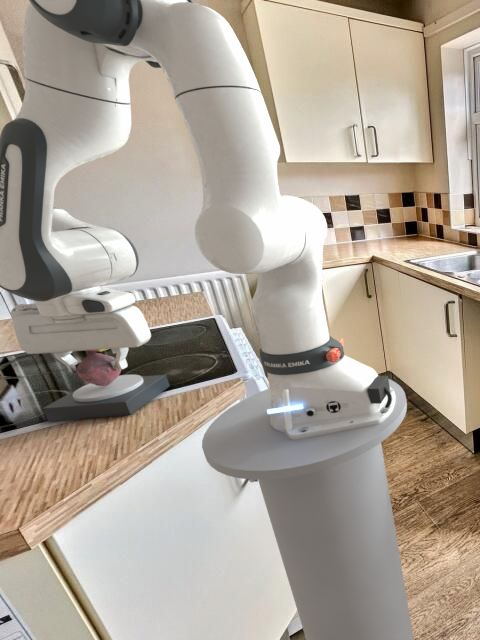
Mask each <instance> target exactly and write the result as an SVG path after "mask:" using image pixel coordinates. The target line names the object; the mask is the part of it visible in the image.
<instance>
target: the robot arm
mask: <svg viewBox="0 0 480 640" xmlns="http://www.w3.org/2000/svg"><path fill="white" fill-rule="evenodd" d="M28 1H29V4H27V6H26V9H25V12H24V13H25V14H24V21H23V31H22V65H23V74H24V86H25V88H24V96H23V100H22V104H21V106H20V109H19V111H18V113H17V114H16V117H15V118H14V119H13V120H11V121H9V122H7V123H6V124H5V125H4V126H3V127H2V130H1V132H0V288H1V289H3V290H4V291H6V292H7V293H10V294H13V295H14V296H17V297H20V298H23V299H27V300H31V301H33V302H32V303H19V304H16V305H15V306H14V307H13V308H12V309H11V311H9V312H10V313H9V314H10V317H11V319H12V321H13V330H14V333H15V337H16V339H17V343H18V345H19V347H20V350H22V351H23V352H24V353H26V354H28V355H40V354H53V356H54V358H55V359H56V360H58V361H59V362H60V363H62V365H64V366H66V368H67V370H68V373H70V374H77V367H78V365H79V363H80V362H81V361H82V360H77V359H76V358H75V357H74V356H73V355H72V354H73V352H83V351H84V352H85V350H100V349H108V350H110V351H111V352H112V354H114V355H115V354H116V355H115V357H114V358H115V360H114V361H112V362H111V365H112V366H113V369H114V370H119V369H121V370H124V369H126V368H128V361H127V356H128V352H129V348H138V347H141V346H144V345H145V344H147V343H148V342H149V341H150V340H151V337H152V332H151V329H150V327H149V324H148V321H147V320H146V318H145V315H144V314H143V312H142V311H141V310H140V308H139V307H137V306H136V305H134V304H135V303H136V297H135V295H134V294H133V293H131V292H129V291H124V290H118V289H114V288H111V287H106V286H104V285H107V284H111V283H117V282H121V281H124V280H126V279H129V278H132V277H133V276H134V275H135V274H136V272H137V270H138V267H139V262H140V259H139V254H138V251H137V249H136V246H135V245H134V243H133V242H132V241H131V239H129V238H128V236H126V235H125V234H124V233H122V232H121V231H119V230H117V229H115V228H112V227H104V226H101V225H99V226H98V225H95V224H91V223H88V222H85V221H83V220H80V219H77V218H75V217H73V216H72V215H71V214H70V213H69V212H68V211H67V210H65V209H62V208H59V207H54V204H55V203H54V202H55V192H56V188H57V185H58V183H59V182H60V181H61V179H62V178H63V177H64V176H65V175H66V174H67V173H69V172H70V171H72V170H74V169H76V168H78V167H80V166H82V165H84V164H86V163H90V162H92V161H96V160H98V159H101V158H105V157H107V156H111V155H112V154H114V153H115V152H117V151H119V150H120V149H122V148H123V147H124V146H125V145H126V144H127V143H128V140H129V138H130V134H131V130H132V103H131V90H130V89H131V88H130V74H131V71H132V69H133V67H134V66H135V65H136V64H138V63H141V62H146V63H147V65H149V66H150V67H152V68H153V69H154V68H155V69H162V71H163V74H164V75H165V77H166V80H167V83H168V84H169V88H170V90H171V92H172V95H173V98H174V100H175V103H176V105H177V108H178V110H179V112H180V115H181V118H182V120H183V123H184V125H185V127H186V130H187V133H188V135H189V138H190V140H191V143H192V146H193V148H194V150H195V151H194V152H195V153H196V158H197V160H198V164H199V169H200V175H201V184H202V208H201V211H200V214H199V215H198V217H197V219H196V221H195V225H194V239H195V241H196V242H195V243H196V245H197V248H198V250H199V251H200V253H201V254H202V256H203V257H204V258H205V260H206V261H207V262H208V263H209V264H211V265H212V266H214V267H215V268H216V269H218V270H220V271H223V272H225V273H227V274H228V273H229V274H234V275H235V274H236V275H254V274H257V282H256V289H255V292H254V295H253V297H252V299H251V304H250V311H251V315H252V318H253V322H254V323H253V324H254V327H255V330H256V334H257V338H258V342H259V346H260V348H259V350H258V353H259V356H260V357H259V358H260V363H261V367H262V370H263V373H264V376H265V378H266V379H267V381H268V389H270V400H271V409H268V410H267V412H268V414H270V425H271V427H272V428H274V429H275V430H277V431H280V432H283V433H285V434H286V435H287V437H288V438H289V439H290V440H299V439H304V438H309V437H315V436H320V435H325V434H330V433H336V432H341V431H346V430H352V429H357V428H362V427H367V426H373V425H377V424H380V423H382V422H383V421H384V420H386V419H387V418H388V417H389V415H390V414H391V413H392V411H393V409H394V406H395V402H396V396H395V392H394V390H393V389H392V388H391V387H390V386H389V379H390V378H389V376H388V375H379V374H378V372H377V371H376V370H375V369H374V368H373V367H371V366H369V365H368V364H367V365H366V364H364V363H362V362H360V361H358V360H356V359H354V358H352V357H349V356H348V355H346V354H345V351H344V345H345V342H344V338H343V337H341V338H340V340H337V339H335V338H334V337H332V336H331V335H330V332H329V331H330V330H329V327H328V321H327V315H326V311H325V305H324V304H325V303H324V299H323V298H324V297H323V261H324V260H323V259H324V258H323V254H324V246H325V245H324V244H325V242H326V239H327V236H328V223H327V220H326V217H325V215H324V214H323V211H321V209H319V207H318V206H316V205H315V204H314V203H312V202H310V201H308V200H306V199H303V198H300V197H297V196H295V195H291V194H281V192H280V186H279V178H278V176H279V175H278V161H279V158H280V156H281V145H280V142H279V139H278V137H277V133H276V131H275V128H274V125H273V122H272V119H271V116H270V114H269V111H268V107H267V105H266V102H265V99H264V96H263V94H262V91H261V87H260V85H259V82H258V80H257V78H256V75H255V72H254V70H253V67H252V66H251V64H250V61H249V59H248V56H247V54H246V52H245V50H244V49H243V46H242V45H241V42H240V41H239V39H238V36H237V35H236V33H235V32H234V30H233V28H232V27H231V25H230V23H229V22H228V21H227V20H226V18H225V17H223V16H222V15H221V13H218V12H217V11H216V10H214V9H213V8H210V7H208V6H206V5H203V4H200V3H197V2H196V1H194V0H28Z"/></svg>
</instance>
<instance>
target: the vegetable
mask: <svg viewBox="0 0 480 640" xmlns="http://www.w3.org/2000/svg"><path fill="white" fill-rule="evenodd" d="M84 352H85V354H86V357H84V359H82V360H80V361H81V362H80V363H79V365H78V367H77V373H76V374H77V376H78V377H79V378H80V379H81V381H84V382H85V383H87V384H88V383H91V384H95V385H97V386H107V385H110V384H111V383H112V382H113V381H114V380H115V379H116V378H117V377H118V376H120V374H121V372H122V369H119V370H114V369H113V366H112V365H111V362H112V361H114V360H115V358H116V357H114V356H111V355H107V354H104V353H100V352H97V351H94V350H85V351H84Z"/></svg>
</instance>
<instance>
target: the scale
mask: <svg viewBox="0 0 480 640" xmlns="http://www.w3.org/2000/svg"><path fill="white" fill-rule="evenodd" d="M170 387H171V385H170V382H169V380H168V376H167V374H156V375H143V376H141V375H139V374H122V375H119V376H118V377H117V378H116V379H115V380H114V381H113V382H112V383H111V384H110V385H107V386H97V385H95V384H91V383H88V382H87V383H86V384H84V385H83V386H81V387H79V388H77V389H75V390H73V391H71V392H69V393H68V394H66V395H64V396H63V397H61V398H58V399H57V400H55V401H53V402H51V403H49V404H47V405H46V406H44V407H42V412H43V414H44V415H45V418H46V419H47V422H48V423H49V422H59V421H71V420H74V421H75V420H84V419H95V418H96V419H97V418H108V417H119V416H120V417H121V416H131V415H132V414H134V413H135V412H137V411H138V410H139V409H141V408H142V407H143V406H145V405H146V404H147V403H149V402H150V401H151V400H153V399H154V398H156V397H157V396H159V395H160V394H161V393H162V392H164V391H166V390H167V389H168V388H170Z"/></svg>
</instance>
